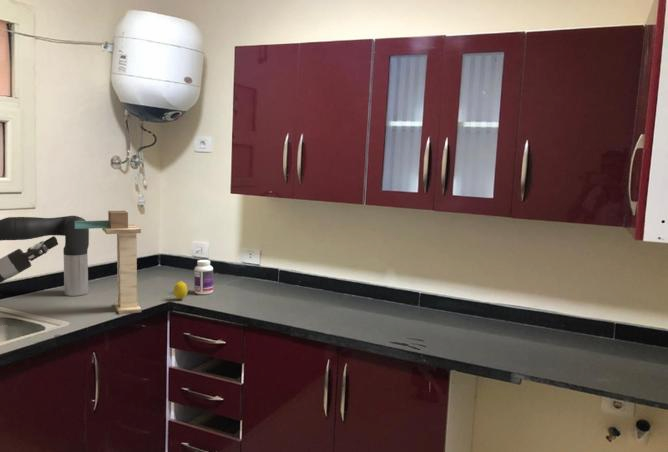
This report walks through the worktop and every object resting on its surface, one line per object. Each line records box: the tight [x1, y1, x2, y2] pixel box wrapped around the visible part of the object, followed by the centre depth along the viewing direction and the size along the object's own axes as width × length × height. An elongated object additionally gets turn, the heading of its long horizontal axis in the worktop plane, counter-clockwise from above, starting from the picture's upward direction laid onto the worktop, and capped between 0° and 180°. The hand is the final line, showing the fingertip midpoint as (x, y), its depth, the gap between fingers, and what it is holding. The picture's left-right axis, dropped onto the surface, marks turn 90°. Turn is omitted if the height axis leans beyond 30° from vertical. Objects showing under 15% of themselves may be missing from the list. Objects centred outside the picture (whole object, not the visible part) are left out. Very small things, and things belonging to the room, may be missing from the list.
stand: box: [101, 224, 142, 315], centre depth 214 cm, size 15×12×32 cm
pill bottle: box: [193, 259, 214, 295], centre depth 244 cm, size 8×8×14 cm
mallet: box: [75, 210, 129, 230], centre depth 208 cm, size 8×18×6 cm, turn 119°
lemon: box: [173, 280, 188, 301], centre depth 232 cm, size 6×6×8 cm
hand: (56, 239), depth 201 cm, fingers open, 8 cm apart
